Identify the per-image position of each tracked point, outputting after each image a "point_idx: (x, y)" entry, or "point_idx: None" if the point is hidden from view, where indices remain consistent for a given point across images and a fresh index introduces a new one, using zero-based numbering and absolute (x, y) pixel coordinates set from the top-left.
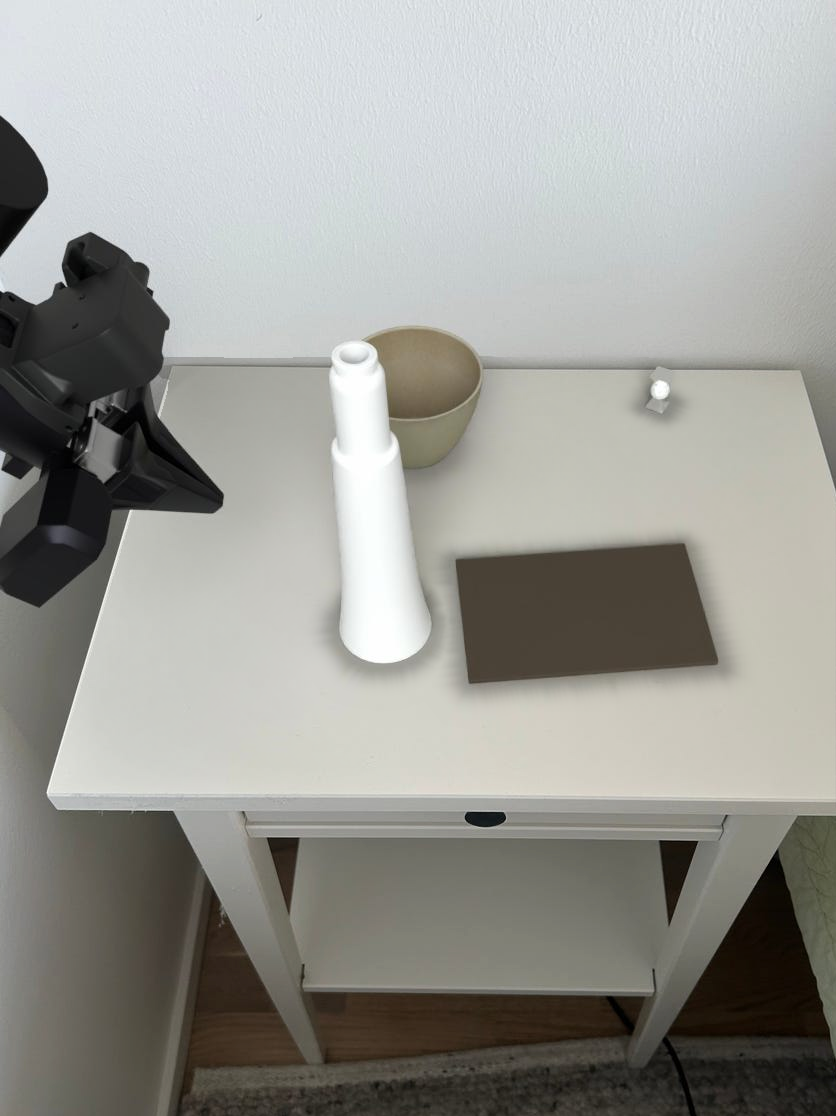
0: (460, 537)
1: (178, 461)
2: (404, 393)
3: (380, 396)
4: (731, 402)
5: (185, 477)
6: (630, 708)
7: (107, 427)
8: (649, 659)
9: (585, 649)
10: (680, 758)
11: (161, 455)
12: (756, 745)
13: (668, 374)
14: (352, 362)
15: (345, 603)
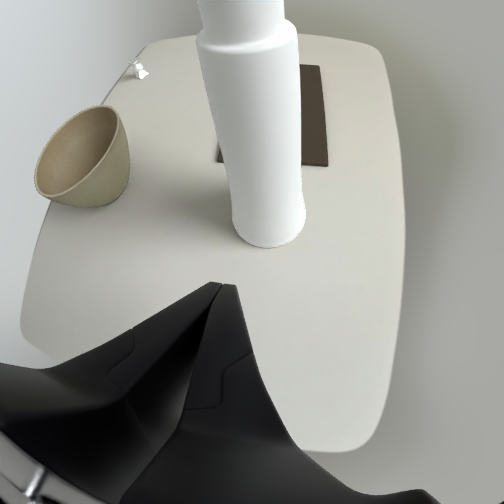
0: (195, 158)
1: (174, 344)
2: (74, 180)
3: None
4: (155, 54)
5: (218, 334)
6: (346, 99)
7: (89, 495)
8: (317, 84)
9: (308, 105)
10: (373, 92)
11: (157, 383)
12: (363, 70)
13: (135, 59)
14: None
15: (279, 219)
